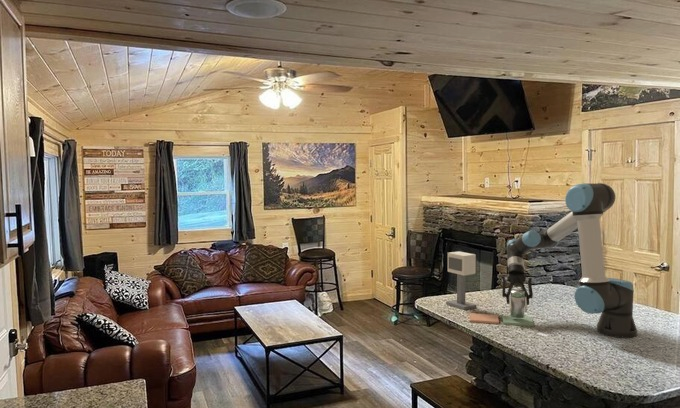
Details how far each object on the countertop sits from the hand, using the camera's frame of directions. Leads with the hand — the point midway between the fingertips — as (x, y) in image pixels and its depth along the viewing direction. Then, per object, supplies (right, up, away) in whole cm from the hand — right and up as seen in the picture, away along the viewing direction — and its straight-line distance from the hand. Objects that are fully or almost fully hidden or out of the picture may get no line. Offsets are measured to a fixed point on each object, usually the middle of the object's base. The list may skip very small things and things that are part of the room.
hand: (518, 310), depth 227 cm
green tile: (+1, -6, +4) cm, 7 cm away
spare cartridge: (+1, -4, +4) cm, 5 cm away
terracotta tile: (-13, -6, +8) cm, 17 cm away
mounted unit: (-18, -5, +32) cm, 37 cm away
